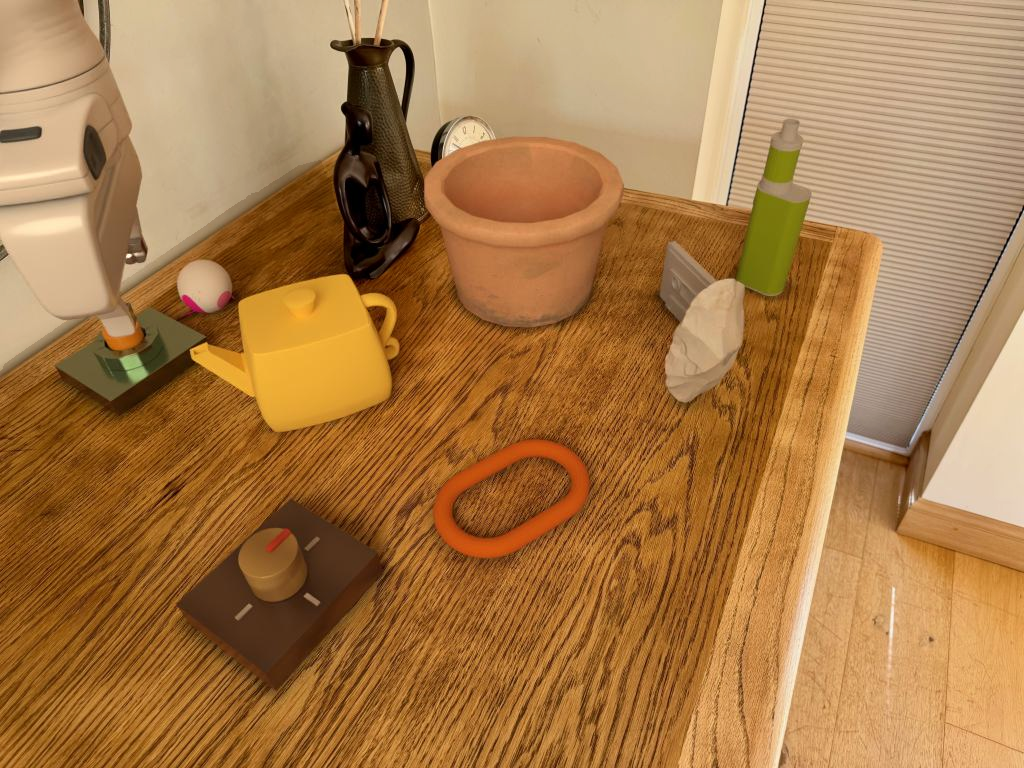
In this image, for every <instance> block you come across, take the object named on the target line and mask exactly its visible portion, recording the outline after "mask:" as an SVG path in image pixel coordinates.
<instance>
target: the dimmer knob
mask: <svg viewBox="0 0 1024 768" xmlns="http://www.w3.org/2000/svg"><path fill="white" fill-rule="evenodd" d="M238 562H239V566H240V568H241V570H242V572H243V574H244V576H245V578H246V580H247V582H248V584H249V586H250V588H251V590H252V592H253V593H254V594H255V596H257V597H258V598H259V599H261V600H264V601H268V602H276V601H281V600H284V599H287V598H289V597H291V596H292V595H294V594H295V593H296V592H298V591H299V590H300V588H301V587H302V586H303V584H304V582H305V580H306V578H307V572H308V570H307V565H306V562H305V560H304V557H303V555H302V552H301V550H300V547H299V545H298V542H297V540H296V538H295V536H294V535H293V534H292V533H291V531H290V530H288V529H287V528H285V529H281V528H269V529H265V530H262V531H260V532H258V533H256V534H254V535H253V536H251V537H250V538H249V539H248V540H247V541H246V542H245V543H244V544H243V546H242V548H241V550H240V553H239V557H238Z"/></svg>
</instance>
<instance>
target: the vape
mask: <svg viewBox="0 0 1024 768" xmlns="http://www.w3.org/2000/svg"><path fill="white" fill-rule="evenodd" d="M800 123H801V122H800V121H799V120H798V119H796V118H791V117H790V118H785V119H784V120H783V123H782V126H781V130H780V131H777V132H774V133H773V134H772V135H771V139H770V144H769V148H768V152H767V157H766V161H765V166H764V170H763V173H762V174H761V180H760V181H758V183H757V186H756V190H755V194H754V196H753V199H752V207H751V212H750V216H749V220H748V225H747V228H746V234H745V238H744V241H743V246H742V250H741V254H740V255H741V256H740V258H739V262H738V263H739V264H738V268H737V270H736V271H737V272H736V276H735V281H738V282H740V283H742V284H743V285H744V286H745V288H748V289H749V290H752V291H755V292H757V293H759V294H761V295H763V296H766V297H774V296H778V295H780V294H781V293H782V292H784V289H785V287H786V284H787V279H788V276H789V273H790V269H791V266H792V263H793V259H794V256H795V253H796V249H797V246H798V243H799V239H800V235H801V232H802V228H803V225H804V222H805V219H806V215H807V212H808V208H809V204H810V201H811V198H812V195H813V193H812V190H810V188H807V187H805V186H802V185H799V184H797V183H794V176H795V172H796V169H797V164H798V161H799V157H800V153H801V150H802V147H803V144H804V137H803V136H802V135H801V134H799V133H798V130H799V127H800Z"/></svg>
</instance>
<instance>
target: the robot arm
mask: <svg viewBox="0 0 1024 768" xmlns="http://www.w3.org/2000/svg"><path fill="white" fill-rule="evenodd" d="M105 52H106V51H105V50H104V47H103V45H102V43H101V41H100V40H99V38H98V37H97V35H96V34H95V33H94V31H93V30H92V29H91V27H90V25H89V24H88V22H87V20H86V19H85V16H84V15H83V13H82V10H81V7H80V4H79V0H0V242H1V244H2V245H3V247H4V249H5V251H6V252H7V254H8V256H9V258H10V259H11V261H12V262H13V264H14V266H15V268H16V269H17V270H18V272H19V274H20V275H21V277H22V279H23V281H24V282H25V283H26V285H27V286H28V288H29V290H30V291H31V292H32V294H33V295H34V296H35V298H36V300H37V301H38V303H39V304H40V305H41V306H42V308H43V309H44V310H45V311H46V312H47V313H49V314H50V315H51V316H53V317H55V318H57V319H59V320H62V321H73V320H78V319H85V318H91V317H96V318H97V319H98V320H100V322H101V324H102V325H103V328H104V327H105V329H106V331H107V333H108V334H109V335H110V336H111V337H115V338H116V337H122V336H128V335H132V334H134V332H135V328H136V321H137V317H136V315H137V314H135V312H134V309H133V306H132V304H131V303H130V301H128V302H125V301H124V299H122V297H121V296H120V295H121V287H122V281H123V277H124V271H125V267H126V265H135V264H143V263H145V262H146V261H147V257H148V252H149V246H148V244H147V243H146V240H145V238H144V235H143V231H142V225H141V220H140V216H139V215H140V214H139V210H138V207H137V205H138V200H139V194H140V190H141V183H142V178H143V171H142V166H141V162H140V159H139V156H138V153H137V151H136V149H135V146H134V144H133V142H132V139H131V137H130V134H131V131H132V129H133V121H132V119H131V117H130V114H129V111H128V109H127V107H126V103H125V101H124V98H123V96H122V93H121V91H120V89H119V86H118V84H117V80H116V78H115V76H114V72H113V70H112V68H111V65H110V63H109V60H108V58H107V54H106V53H105Z"/></svg>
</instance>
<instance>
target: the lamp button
mask: <svg viewBox="0 0 1024 768" xmlns="http://www.w3.org/2000/svg"><path fill="white" fill-rule="evenodd" d="M101 331H102V335H103V337H104V339H105V340H106V342H107V344H108V346H109V348H111V349H112V350H115V351H123V350H126V349H129V348H133V347H134V346H136V345H137V344H139V343H141V341H142V340H143V338H144V334H143V332H142V330H141V327H140V325H139V323H138V321H136V328H135V332H134V334H132V335H128V336H122V337H116V338H115V337H111V336H110V335H109V334H108V333H107V331H106V329H105V327H104V326H103V328H102V330H101Z"/></svg>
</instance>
